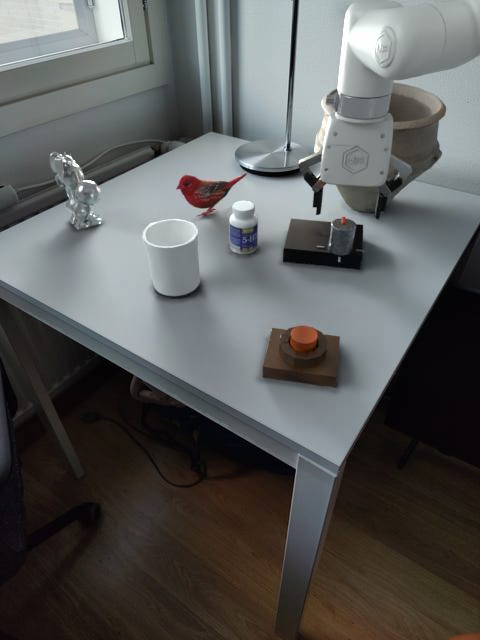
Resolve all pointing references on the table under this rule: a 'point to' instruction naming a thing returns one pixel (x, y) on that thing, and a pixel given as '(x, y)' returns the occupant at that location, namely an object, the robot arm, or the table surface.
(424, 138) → the planter
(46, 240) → the table surface
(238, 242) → the pill bottle
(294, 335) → the button
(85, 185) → the chrome statue
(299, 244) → the panel
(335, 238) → the hob knob
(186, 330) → the table surface
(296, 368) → the button block
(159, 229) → the mug
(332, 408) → the table surface
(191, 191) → the decorative bird figurine
